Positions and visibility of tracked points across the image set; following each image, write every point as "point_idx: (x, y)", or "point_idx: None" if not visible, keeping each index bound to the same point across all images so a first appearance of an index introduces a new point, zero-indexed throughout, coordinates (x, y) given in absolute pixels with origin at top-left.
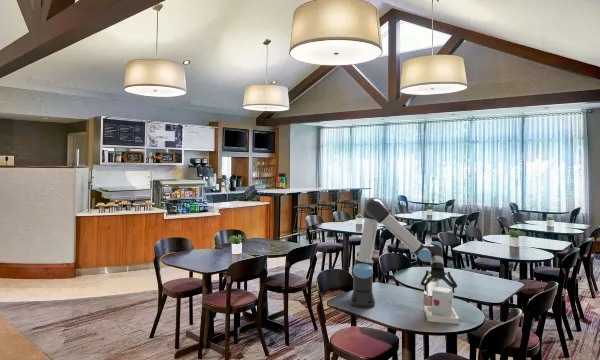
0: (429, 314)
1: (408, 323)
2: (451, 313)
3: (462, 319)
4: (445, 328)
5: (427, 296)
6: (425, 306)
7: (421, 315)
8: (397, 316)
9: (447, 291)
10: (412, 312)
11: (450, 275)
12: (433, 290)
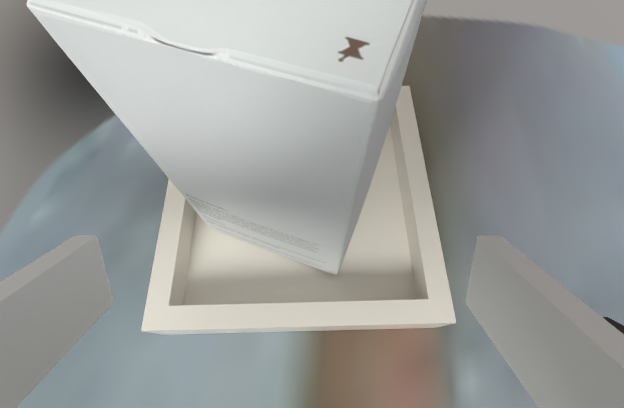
0: (397, 110)
1: (510, 60)
2: (193, 271)
3: (138, 202)
4: None
5: (475, 282)
6: (443, 304)
7: (450, 207)
8: (614, 145)
9: None
10: (532, 257)
11: None
12: None
